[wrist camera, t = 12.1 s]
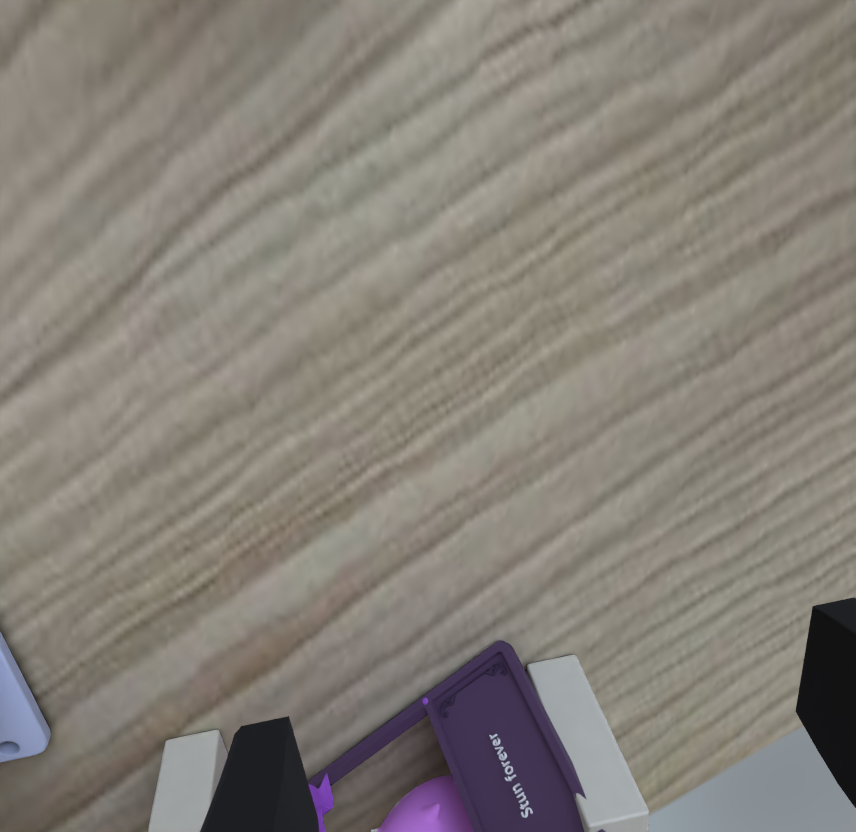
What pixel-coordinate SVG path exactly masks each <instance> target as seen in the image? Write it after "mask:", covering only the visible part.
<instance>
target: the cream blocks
mask: <svg viewBox="0 0 856 832" xmlns="http://www.w3.org/2000/svg"><path fill="white" fill-rule="evenodd" d="M527 676H528V678H529V680H530V682H531V684H532V685H533V687H534V689H535V691H536V693H537V695H538V697H539V699H540V701H541V703H542V705H543V707H544V709H545V711H546V712H547V714H548V716H549V718H550V720H551V722H552V724H553V726H554V728H555V730H556V732H557V734H558V736H559V737H560V739H561V741H562V743H563V745H564V747H565V749H566V751H567V753H568V755H569V757H570V759H571V761H572V763H573V765H574V768H575V770H576V773H577V775H578V778H579V781H580V783H581V786H582V788H583V791H584V793H585V796H586V799H587V800H586V799H585V798H584V797H583V796H581V795H580V794H579V793H576V798H575V796H574V798H575V801H576V805H577V808H578V811H579V815H580V818H581V822H582V825H583V828H584V832H597V831H599V830H600V829H603V830H604V831H605V832H648V828H649V810H648V808H647V806H646V804H645V802H644V799H643V797H642V795H641V793H640V791H639V789H638V787H637V784H636V782H635V780H634V778H633V776H632V774H631V772H630V769H629V767H628V765H627V763H626V761H625V759H624V757H623V754H622V752H621V750H620V748H619V746H618V744H617V742H616V740H615V737H614V735H613V733H612V731H611V729H610V727H609V725H608V722H607V720H606V718H605V716H604V714H603V712H602V710H601V707H600V705H599V703H598V701H597V699H596V697H595V695H594V692H593V690H592V688H591V686H590V684H589V682H588V680H587V678H586V675H585V673H584V671H583V669H582V667H581V665H580V663H579V660H578V658H577V656H576V655H574V654H573V655H568V656H564V657H559V658H554V659H549V660H545V661H540V662H535V663H530V664H528V665H527ZM227 757H228V754H227V751H226V749H225V746H224V743H223V740H222V737H221V734H220V732H219V730H212V731H207V732H202V733H197V734H193V735H188V736H183V737H178V738H173V739H169V740H166V742H165V746H164V751H163V756H162V761H161V766H160V772H159V777H158V782H157V787H156V792H155V797H154V802H153V807H152V812H151V817H150V822H149V827H148V832H200V830H201V828H202V825H203V822H204V820H205V817H206V815H207V812H208V810H209V807H210V804H211V802H212V799H213V796H214V794H215V791H216V788H217V785H218V783H219V780H220V777H221V774H222V771H223V768H224V765H225V763H226V760H227ZM576 799H577V800H576Z"/></svg>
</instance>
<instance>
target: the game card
mask: <svg viewBox="0 0 856 832" xmlns="http://www.w3.org/2000/svg"><path fill="white" fill-rule="evenodd" d="M427 715H429V718H430V720H431V723H432V725H433V728H434V730H435V733H436V736H437V738H438V741H439V743H440V746H441V748H442V751H443V753H444V756H445V758H446V761H447V763H448V766H449V769H450V771H451V774H452V775H445V776H440V777H436V778H433V779H431V780H429V781H426V782H424V783H422V784H421V785H419V786H417V787H416V788H414V789H413V790H411V791H410V792H409V793H407V794H406V795H405V796H404V797H403V798H401V799H400V800H399V801H398V802H397V803H396V805H395V806H394V807H393V808H392V809H391V811H390V812H389V813H388V815H387V816H386V818H385V819H384V821H383V823H382V825H381V827H379V828H378V829H373V830H371V832H584V828H583V825H582V822H581V818H580V815H579V811H578V808H577V805H576V801H575V798H576V793H579V794H580V795H581V796H583V797H584V798H585V799H586V796H585V793H584V791H583V788H582V786H581V783H580V781H579V778H578V775H577V773H576V770H575V768H574V765H573V763H572V761H571V759H570V757H569V755H568V753H567V751H566V749H565V747H564V745H563V743H562V741H561V739H560V737H559V736H558V734H557V732H556V730H555V728H554V726H553V724H552V722H551V720H550V718H549V716H548V714H547V712H546V711H545V709H544V707H543V705H542V703H541V701H540V699H539V697H538V695H537V693H536V691H535V689H534V687H533V685H532V684H531V682H530V680H529V678H528V676H527V674H526V672H525V670H524V668H523V666H522V664H521V662H520V660H519V658H518V657H517V655H516V653H515V651H514V649H513V647H512V646H511V645H510V644H508V643H506V642H504V641H498V642H496V643H495V644H494V645H492V646H491V647H490V648H488V649H487V650H486V651H484V652H483V653H481V654H480V655H479V656H477V657H476V658H475V659H473V660H472V661H471V662H469V663H468V664H467V665H465V666H464V667H462V668H461V669H460V670H458V671H457V672H456V673H454V674H453V675H452V676H450V677H449V678H448V679H446V680H445V681H443V682H442V683H441V684H439V685H438V686H437V687H435V688H434V689H433V690H431V691H430V692H429V693H427V694H426V695H424V696H423V697H422V698H420V699H419V700H418V701H416V702H415V703H414V704H412V705H411V706H410V707H408V708H407V709H405V710H404V711H403V712H401V713H400V714H399V715H397V716H396V717H395V718H393V719H392V720H391V721H389V722H388V723H386V724H385V725H384V726H382V727H381V728H380V729H378V730H377V731H376V732H374V733H373V734H372V735H370V736H369V737H367V738H366V739H365V740H363V741H362V742H361V743H359V744H358V745H357V746H355V747H354V748H353V749H351V750H350V751H348V752H347V753H346V754H344V755H343V756H342V757H340V758H339V759H338V760H336V761H335V762H334V763H332V764H331V765H329V766H328V767H327V768H325V769H324V770H323V771H321V772H320V773H319V774H317V775H316V776H315V777H313V778H312V779H311V780H309V781H308V785H309V788H310V792H311V795H312V799H313V801H314V805H315V809H316V813H317V816H318V823H319V832H326V831H325V826H324V822H323V817H322V816H323V815H325V814H326V813H327V812H328V811H330V810H331V809H332V808H333V804H334V803H333V795H332V791H331V787H330V786H331V785H332V784H334V783H335V782H337V781H338V780H339V779H341V778H342V777H343V776H345V775H346V774H347V773H349V772H350V771H352V770H353V769H354V768H356V767H357V766H358V765H360V764H361V763H363V762H364V761H365V760H367V759H368V758H369V757H371V756H372V755H374V754H375V753H376V752H378V751H379V750H380V749H382V748H383V747H384V746H386V745H387V744H389V743H390V742H391V741H393V740H394V739H395V738H397V737H398V736H400V735H401V734H402V733H404V732H405V731H406V730H408V729H409V728H410V727H412V726H413V725H415V724H416V723H417V722H419V721H420V720H421V719H423V718H424V717H426V716H427ZM574 796H575V798H574ZM576 800H577V799H576ZM586 800H587V799H586ZM597 832H605V831H604V830H603V829H600V830H599V831H597Z"/></svg>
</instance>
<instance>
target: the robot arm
mask: <svg viewBox="0 0 856 832" xmlns="http://www.w3.org/2000/svg"><path fill="white" fill-rule="evenodd" d="M796 713H797V715H798V716H799V718H800V720H801V722H802V723H803V725H804V727H805V729H806V730H807V732H808V734H809V736H810V738H811V739H812V741H813V743H814V744H815V746H816V748H817V749H818V752H819V753H820V755H821V757H822V758H823V760H824V761H825V763H826V765H827V766H828V768H829V769H830V771H831V773H832V774H833V776H834V778H835V779H836V781H837V783H838V784H839V786H840V787H841V788H842V790H843V791H844V793H845V794H846V795H847V797H848V798H849V800H850V801H851V802H852V804H853V805H854V806H855V808H856V598H850V599H845V600H840V601H835V602H831V603H826V604H821V605H816V606H813V609H812V615H811V621H810V627H809V633H808V639H807V645H806V652H805V658H804V664H803V670H802V676H801V682H800V688H799V694H798V700H797V707H796ZM50 737H51V732H50V729H49V727H48V725H47V723H46V721H45V719H44V717H43V715H42V713H41V711H40V709H39V707H38V705H37V703H36V701H35V699H34V697H33V695H32V693H31V691H30V689H29V687H28V685H27V683H26V681H25V679H24V677H23V675H22V673H21V671H20V669H19V667H18V665H17V663H16V661H15V659H14V658H13V656H12V654H11V652H10V650H9V648H8V646H7V644H6V642H5V640H4V638H3V636H2V634H1V632H0V762H4V761H9V760H14V759H19V758H24V757H28V756H33V755H36V754H39V753H42V752H43V751H44V750H45V749H46V747H47V745H48V742H49V740H50ZM8 741H11V742H14V743H11V742H8ZM200 832H319V823H318V816H317V813H316V809H315V806H314V802H313V799H312V795H311V792H310V788H309V785H308V781H307V778H306V774H305V771H304V767H303V764H302V760H301V757H300V753H299V750H298V746H297V743H296V739H295V736H294V732H293V729H292V725H291V722H290V719H289V716H288V717H283V718H279V719H274V720H269V721H264V722H260V723H255V724H250V725H245V726H241V727H240V729H239V730H238V731H237V732H236V733H235V735H234V738H233V741H232V744H231V747H230V751H229V754H228V757H227V760H226V763H225V765H224V768H223V771H222V774H221V777H220V780H219V783H218V785H217V788H216V791H215V794H214V796H213V799H212V802H211V804H210V807H209V810H208V812H207V815H206V817H205V820H204V822H203V825H202V828H201V830H200Z"/></svg>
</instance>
